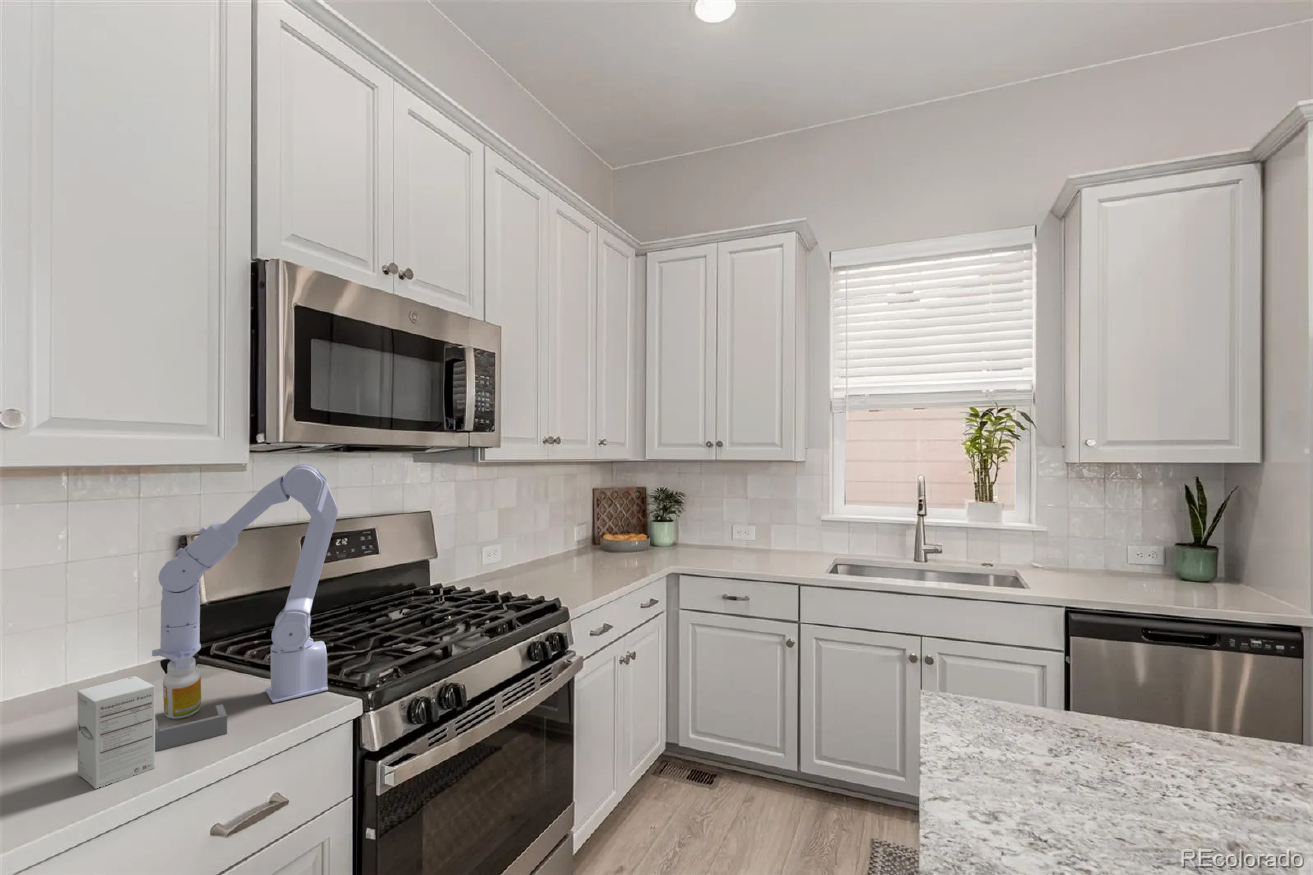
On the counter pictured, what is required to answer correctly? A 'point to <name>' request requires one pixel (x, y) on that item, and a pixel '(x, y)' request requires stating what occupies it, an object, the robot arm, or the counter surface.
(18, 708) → the counter surface
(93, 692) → the supplement box
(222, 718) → the clip holder
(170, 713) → the supplement bottle
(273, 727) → the counter surface
